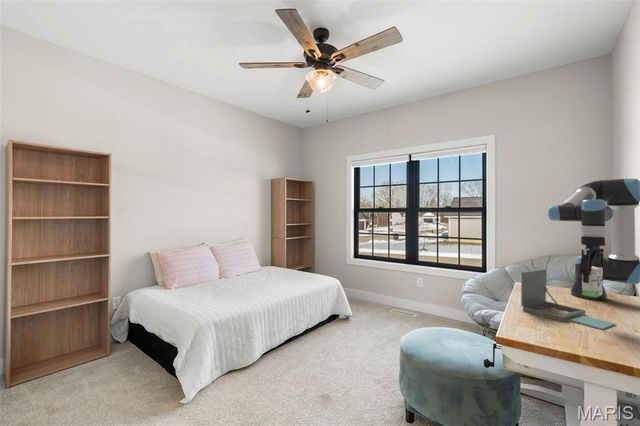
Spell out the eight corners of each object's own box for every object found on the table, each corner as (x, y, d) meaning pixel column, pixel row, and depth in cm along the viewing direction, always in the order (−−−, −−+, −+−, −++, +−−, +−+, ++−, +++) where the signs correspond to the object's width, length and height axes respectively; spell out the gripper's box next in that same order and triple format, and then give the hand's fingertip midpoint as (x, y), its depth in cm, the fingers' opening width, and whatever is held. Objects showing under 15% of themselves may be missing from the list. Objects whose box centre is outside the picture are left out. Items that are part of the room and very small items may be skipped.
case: (544, 304, 151) (544, 269, 151) (585, 314, 136) (586, 275, 136) (521, 310, 141) (521, 272, 141) (562, 321, 126) (563, 279, 126)
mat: (582, 316, 133) (582, 315, 133) (615, 325, 124) (615, 323, 124) (569, 320, 128) (569, 319, 128) (602, 329, 118) (602, 328, 118)
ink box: (596, 297, 121) (597, 269, 121) (581, 295, 125) (581, 267, 125) (602, 294, 126) (603, 267, 126) (587, 292, 130) (588, 265, 130)
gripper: (593, 234, 134) (592, 284, 134) (569, 235, 124) (568, 289, 124) (615, 236, 127) (615, 288, 127) (592, 237, 117) (591, 294, 117)
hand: (592, 289), depth 126 cm, fingers closed on ink box, 9 cm apart
